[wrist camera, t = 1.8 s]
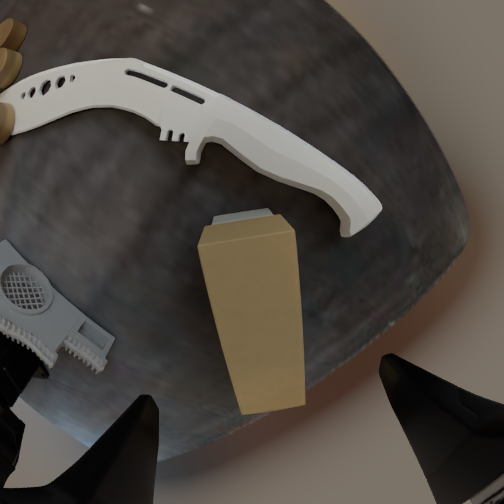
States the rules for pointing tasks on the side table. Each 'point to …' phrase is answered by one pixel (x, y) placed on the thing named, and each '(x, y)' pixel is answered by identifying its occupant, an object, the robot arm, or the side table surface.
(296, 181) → the knife
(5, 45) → the crumb
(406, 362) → the robot arm
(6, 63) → the short tan cylinder
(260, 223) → the oblong tan box
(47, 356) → the garden wall model
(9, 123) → the tan squat cylinder
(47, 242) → the side table surface
